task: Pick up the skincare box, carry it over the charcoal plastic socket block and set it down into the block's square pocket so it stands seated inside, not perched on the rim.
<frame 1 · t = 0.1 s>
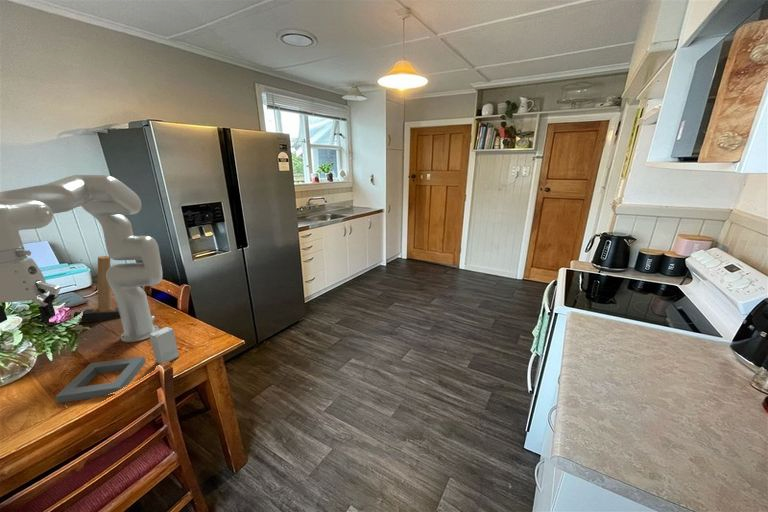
hand: (25, 320, 74), 31 cm above the table, tool pointing down, fingers open, 9 cm apart
hammer: (107, 318, 138), on the table
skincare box: (167, 360, 109), on the table
socket block: (106, 380, 98), on the table
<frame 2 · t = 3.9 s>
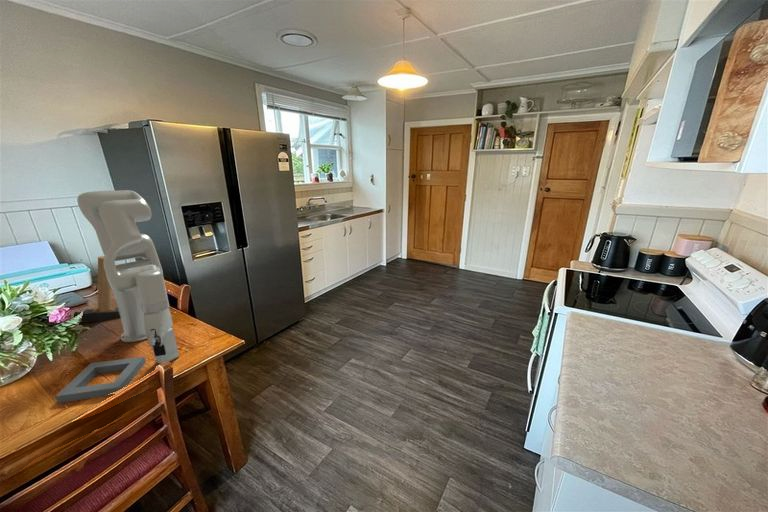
hand: (165, 348, 108), 5 cm above the table, tool pointing down, fingers closed on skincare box, 7 cm apart
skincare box: (167, 360, 109), on the table, touching gripper
everything else where it was.
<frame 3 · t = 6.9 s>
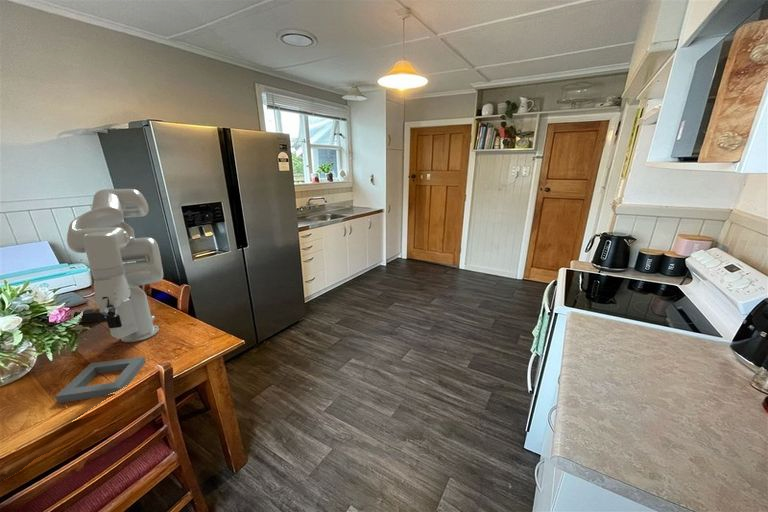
hand: (121, 321, 97), 20 cm above the table, tool pointing down, fingers closed on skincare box, 7 cm apart
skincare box: (125, 334, 99), point 15 cm above the table, touching gripper
everything else where it was.
when the fingers open (8 cm above the table, at t = 9.8 s): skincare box drops 3 cm, resting in socket block.
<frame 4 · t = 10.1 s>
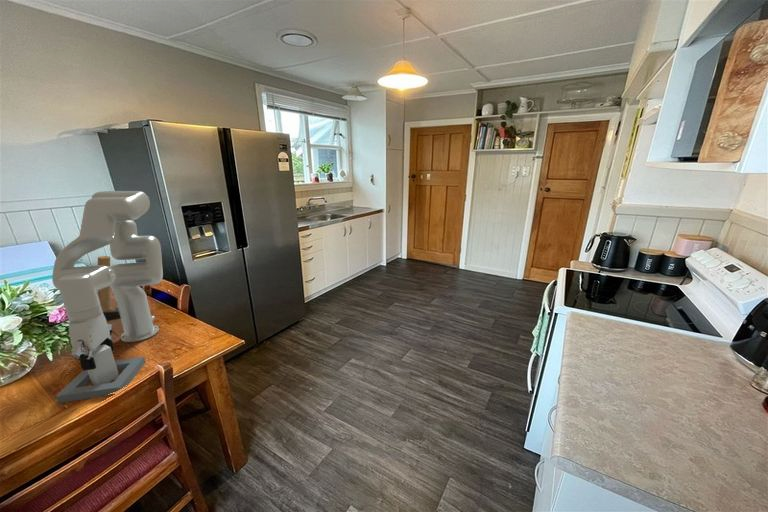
hand: (99, 359, 95), 8 cm above the table, tool pointing down, fingers open, 9 cm apart
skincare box: (106, 381, 98), resting in socket block
everything else where it was.
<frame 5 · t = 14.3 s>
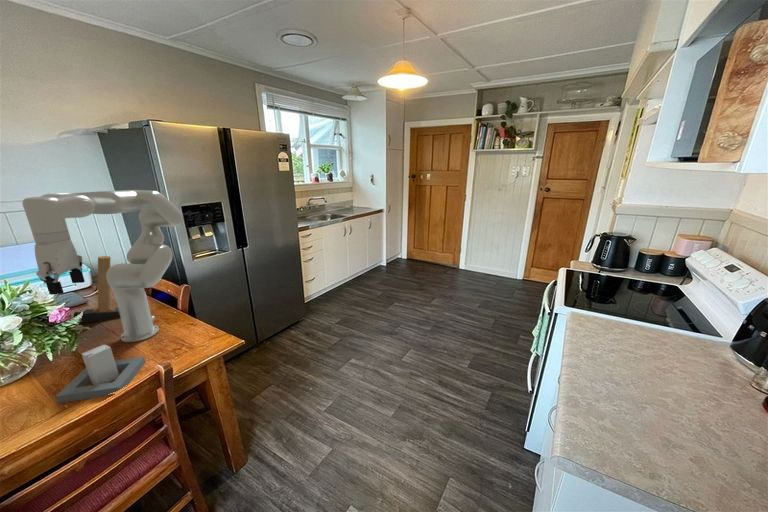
hand: (68, 287, 96), 30 cm above the table, tool pointing down, fingers open, 9 cm apart
nothing on the table moved.
at the end: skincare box 0.1 cm off-centre on the socket block, point 0.0 cm above the socket block's base; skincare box tilted 0°; the gripper is holding nothing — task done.
